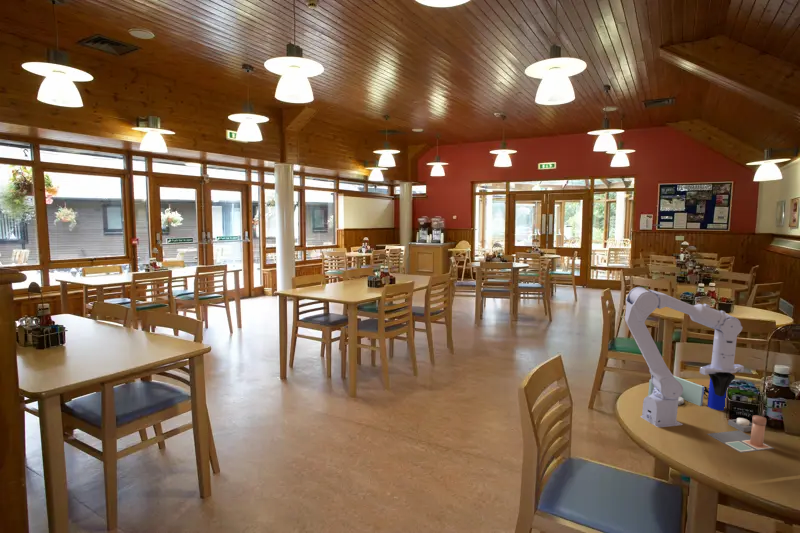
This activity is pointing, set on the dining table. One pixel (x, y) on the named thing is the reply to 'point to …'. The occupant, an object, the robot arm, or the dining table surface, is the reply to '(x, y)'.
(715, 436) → the picture board
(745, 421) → the button
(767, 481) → the dining table surface
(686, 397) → the l-shaped corner panel
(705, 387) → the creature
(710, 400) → the beverage can
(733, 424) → the button housing
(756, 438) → the tan rounded cylinder
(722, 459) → the dining table surface
